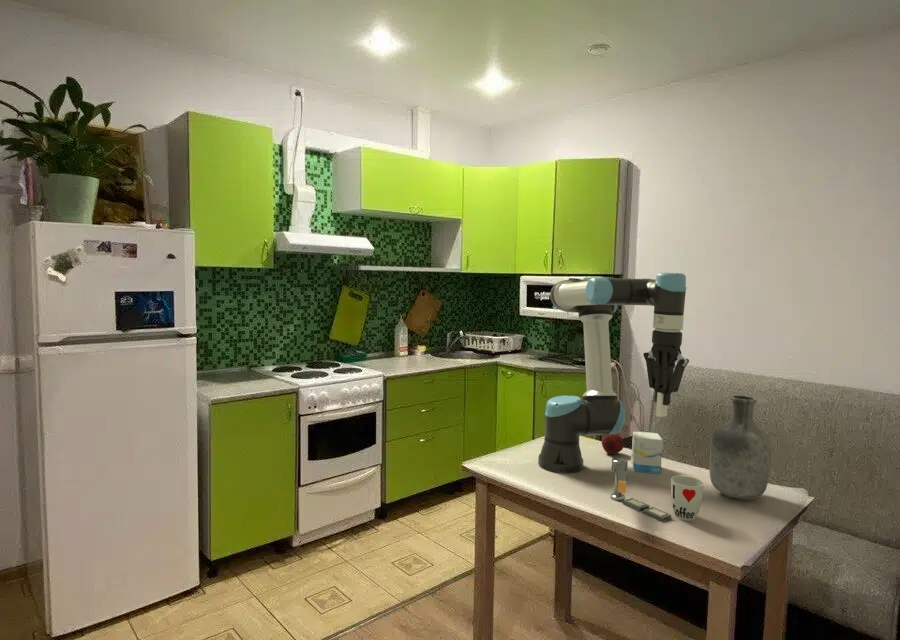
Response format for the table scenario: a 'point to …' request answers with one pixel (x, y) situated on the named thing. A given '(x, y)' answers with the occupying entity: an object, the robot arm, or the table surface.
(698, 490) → the cup
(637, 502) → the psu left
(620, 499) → the post
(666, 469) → the table surface
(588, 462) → the table surface
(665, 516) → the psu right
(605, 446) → the apple
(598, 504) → the table surface
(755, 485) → the vase
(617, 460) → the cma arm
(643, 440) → the ink box
